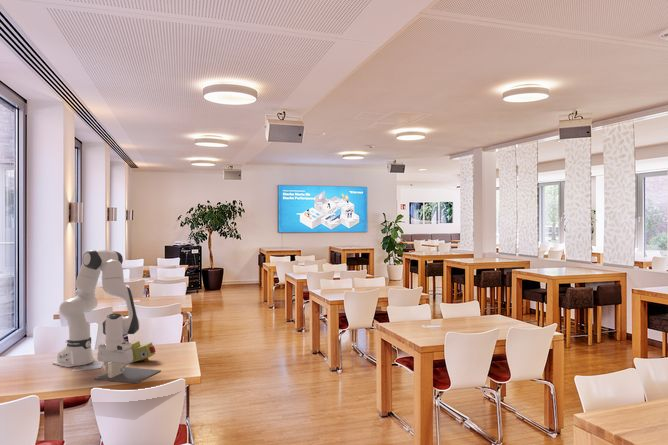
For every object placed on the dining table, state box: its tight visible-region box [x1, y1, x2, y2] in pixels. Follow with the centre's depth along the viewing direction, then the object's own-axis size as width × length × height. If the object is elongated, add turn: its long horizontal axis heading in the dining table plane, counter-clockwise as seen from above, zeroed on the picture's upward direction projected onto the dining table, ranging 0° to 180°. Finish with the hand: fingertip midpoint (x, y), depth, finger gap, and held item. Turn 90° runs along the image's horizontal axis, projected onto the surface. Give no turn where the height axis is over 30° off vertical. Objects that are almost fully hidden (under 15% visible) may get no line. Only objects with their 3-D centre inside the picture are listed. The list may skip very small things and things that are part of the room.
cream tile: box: [107, 362, 123, 378], centre depth 260 cm, size 2×8×7 cm, turn 164°
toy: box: [130, 340, 157, 364], centre depth 287 cm, size 9×12×20 cm
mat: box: [94, 366, 162, 384], centre depth 262 cm, size 26×20×1 cm
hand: (115, 370), depth 260 cm, fingers open, 8 cm apart
